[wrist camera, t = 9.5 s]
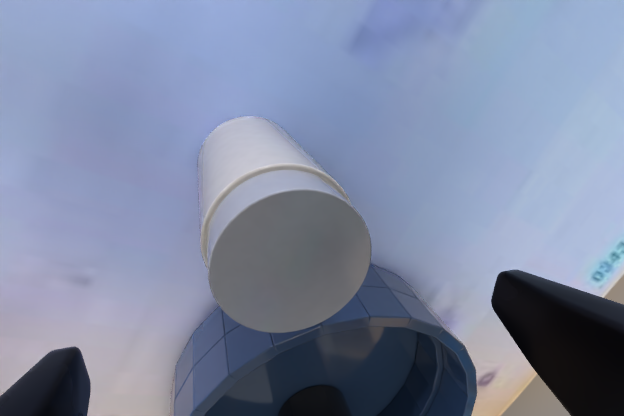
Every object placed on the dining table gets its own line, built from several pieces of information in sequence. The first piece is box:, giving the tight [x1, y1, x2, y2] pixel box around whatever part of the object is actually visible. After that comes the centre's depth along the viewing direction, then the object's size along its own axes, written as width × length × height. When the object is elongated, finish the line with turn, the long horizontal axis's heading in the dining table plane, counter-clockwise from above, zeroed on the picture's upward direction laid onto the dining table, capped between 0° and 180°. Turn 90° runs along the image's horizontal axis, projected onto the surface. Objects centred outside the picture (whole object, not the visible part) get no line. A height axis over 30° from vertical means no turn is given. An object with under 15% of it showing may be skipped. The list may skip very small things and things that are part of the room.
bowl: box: [169, 264, 477, 416], centre depth 21 cm, size 16×16×5 cm
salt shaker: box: [197, 116, 371, 333], centre depth 13 cm, size 5×5×8 cm
